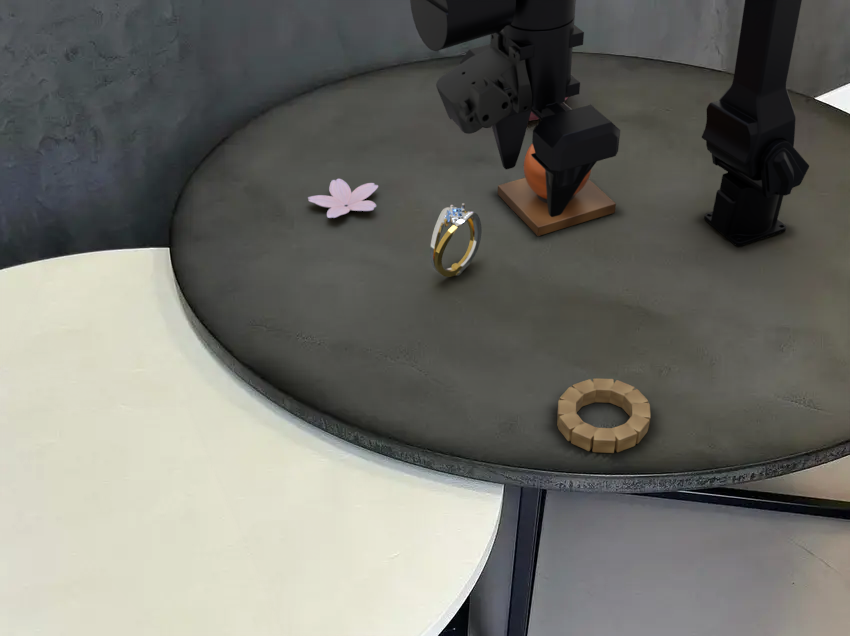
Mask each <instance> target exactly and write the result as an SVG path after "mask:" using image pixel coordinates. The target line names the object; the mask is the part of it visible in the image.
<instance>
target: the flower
mask: <svg viewBox="0 0 850 636" xmlns="http://www.w3.org/2000/svg"><path fill="white" fill-rule="evenodd" d="M350 187H351V186H349V184H348V183H347V182H346V181H345V180H343V179H342V178H339V177H338V178H337V179H331V182H330V183H329V188H328V190H329V194H330V195H325V194H317V195H311V196H307V199H308V202H310V203H313V204H315V205H317V206H319V207H322V208H328V210H327V212H326V217H327V218H329V219H332V218H333V219H335V218H338V217H340V216H343V215H346V214H349V212H350V211H355V212H356V211H357V212H362V211H363V212H371V211H374V209H375V208H377V204H376V203H375V202H374V201H373V200H367V198H369V197H370V196H371V195H372V194H373V193H375V191H376V190H378V188H379V185H378V184H375V182H367V183H364V184H361V185H359V186H358V187H356V188H355V189H354V190H352V189H351V188H350ZM365 199H366V200H365Z"/></svg>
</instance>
